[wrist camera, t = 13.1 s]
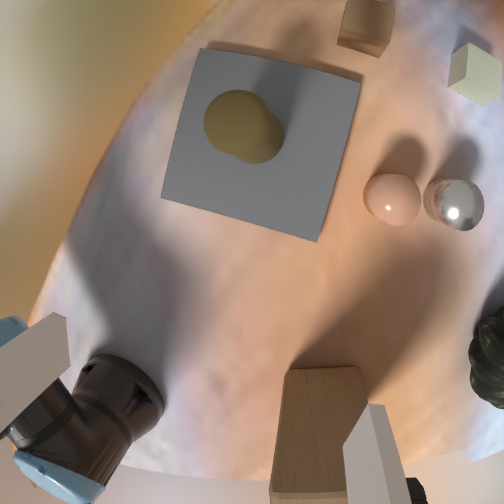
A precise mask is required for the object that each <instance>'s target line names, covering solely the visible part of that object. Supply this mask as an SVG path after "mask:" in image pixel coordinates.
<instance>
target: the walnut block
mask: <svg viewBox="0 0 504 504" xmlns="http://www.w3.org/2000/svg"><path fill="white" fill-rule="evenodd" d="M394 9H395V7H393V6H390V5H387V4H384V3H381V2H378V1H375V0H347V2H346V7H345V11H344V15H343V19H342V24H341V28H340V33H339V37H338V41H337V45H339V46H342V47H346V48H349V49H353V50H356V51H359V52H362V53H365V54H368V55H371V56H374V57H377V58H379V57H380V56H381V54H382V53H383V51H384V50H385V48H386V47H387V45H388V44H389V42H390V36H391V30H392V23H393V16H394Z"/></svg>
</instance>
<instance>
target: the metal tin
mask: <svg viewBox="0 0 504 504" xmlns="http://www.w3.org/2000/svg"><path fill="white" fill-rule="evenodd" d="M423 204H424V208H425V210H426V212H427V214H428V215H429V216H430V217H431V218H432V219H434V220H436V221H439V222H441V223H444V224H446V225H448V226H451V227H453V228H455V229H458V230H461V231H467V230H471V229H473V228H474V227H475V226H476V225H477V224H478V223H479V222H480V220H481V218H482V215H483V212H484V200H483V196H482V193H481V191H480V189H479V188H478V187H477V186H476V185H475V184H474V183H472V182H470V181H466V180H455V179H444V178H438V179H435V180H433V181H431V182H430V183H429V184H428V186H427V187H426V189H425V191H424V195H423Z"/></svg>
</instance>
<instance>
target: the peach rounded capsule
mask: <svg viewBox="0 0 504 504" xmlns="http://www.w3.org/2000/svg"><path fill="white" fill-rule="evenodd" d="M363 198H364V203H365V206H366V207H367V209H368V210H369V212H370V213H371V214H373V215H374V216H376V217H377V218H379V219H381V220H382V221H384V222H385V223H387V224H389V225H393V226H402V225H405V224H408V223H409V222H411V221H412V220H413V219H414V218H415V217H416V215H417V214H418V212H419V209H420V205H421V195H420V191H419V189H418V187H417V185H416V184H415V182H414V181H413V180H412V179H410V178H409V177H407V176H405V175H402V174H378V175H375V176H374V177H372V178H371V179H370V180H369V181H368V182H367V184H366V186H365V188H364V193H363Z"/></svg>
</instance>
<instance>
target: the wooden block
mask: <svg viewBox="0 0 504 504" xmlns="http://www.w3.org/2000/svg"><path fill="white" fill-rule="evenodd" d="M367 404H368V401H367V397H366V392H365V388H364V384H363V379H362V375H361V372H360V370H359V368H358V367H354V366H351V367H335V368H313V369H291V370H288V371H287V372H286V374H285V376H284V384H283V393H282V401H281V409H280V417H279V424H278V432H277V439H276V446H275V453H274V460H273V466H272V473H271V480H270V487H269V496H270V504H348V496H347V485H346V475H345V465H344V455H343V445H344V443H345V441H346V440H347V438H348V437H349V435H350V433H351V432H352V430H353V428H354V427H355V425H356V423H357V422H358V420H359V418H360V416H361V415H362V413H363V411H364V409H365V408H366V406H367Z"/></svg>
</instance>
